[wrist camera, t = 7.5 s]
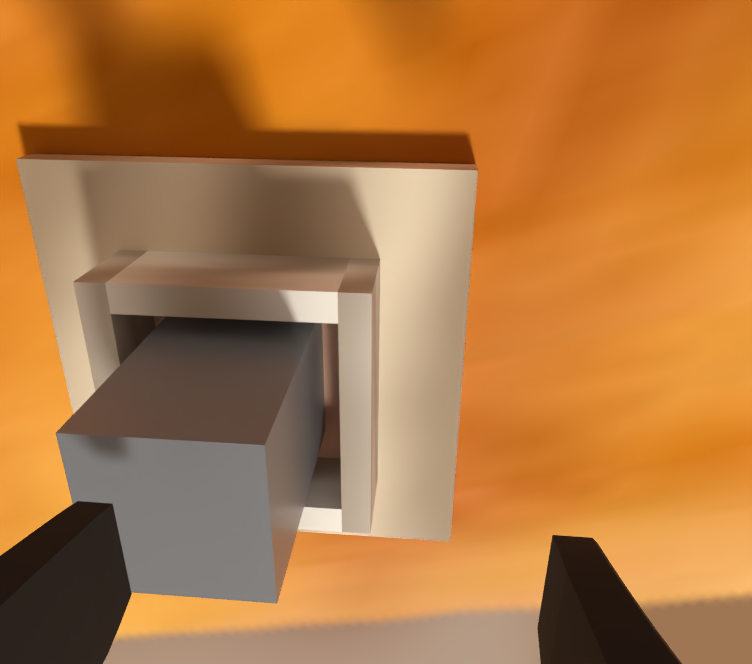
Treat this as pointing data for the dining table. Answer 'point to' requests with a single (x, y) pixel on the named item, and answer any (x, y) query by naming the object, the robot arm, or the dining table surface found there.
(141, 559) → the plug
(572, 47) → the dining table surface
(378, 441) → the holder box
